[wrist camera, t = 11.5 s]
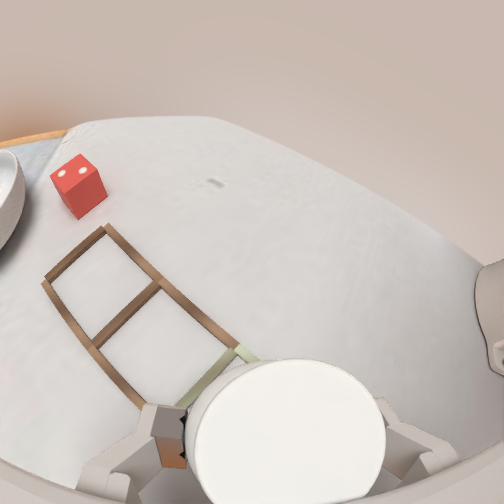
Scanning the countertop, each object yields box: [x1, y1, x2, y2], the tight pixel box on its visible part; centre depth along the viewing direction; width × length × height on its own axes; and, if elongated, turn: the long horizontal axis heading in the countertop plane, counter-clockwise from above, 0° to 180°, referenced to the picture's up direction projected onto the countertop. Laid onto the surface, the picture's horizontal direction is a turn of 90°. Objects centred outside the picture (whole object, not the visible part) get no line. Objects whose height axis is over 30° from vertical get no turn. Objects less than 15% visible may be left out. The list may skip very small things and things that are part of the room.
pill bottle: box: [184, 359, 386, 504], centre depth 10 cm, size 6×6×10 cm
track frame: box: [41, 223, 261, 411], centre depth 23 cm, size 28×10×1 cm, turn 51°
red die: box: [50, 154, 108, 220], centre depth 29 cm, size 4×4×5 cm
